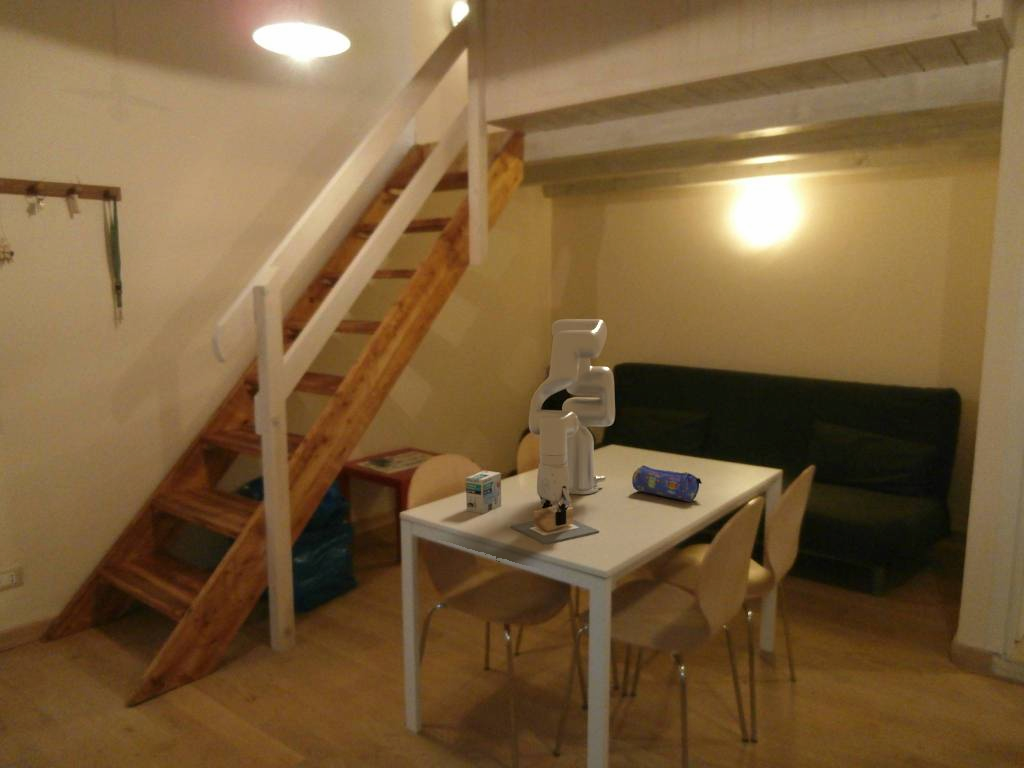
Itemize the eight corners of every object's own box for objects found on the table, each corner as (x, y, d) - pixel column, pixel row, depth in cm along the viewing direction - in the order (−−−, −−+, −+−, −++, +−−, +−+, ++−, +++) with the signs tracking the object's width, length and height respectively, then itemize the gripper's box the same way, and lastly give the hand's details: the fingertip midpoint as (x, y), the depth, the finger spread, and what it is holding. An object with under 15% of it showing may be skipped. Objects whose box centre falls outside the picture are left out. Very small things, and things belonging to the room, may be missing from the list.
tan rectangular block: (534, 526, 209) (534, 511, 208) (560, 519, 215) (560, 504, 215) (547, 531, 205) (547, 515, 204) (573, 523, 211) (573, 508, 211)
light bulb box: (483, 514, 226) (483, 479, 225) (465, 511, 230) (464, 477, 229) (502, 505, 235) (501, 472, 234) (484, 502, 239) (483, 469, 238)
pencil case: (702, 500, 237) (702, 470, 236) (688, 506, 231) (688, 476, 230) (644, 488, 253) (644, 460, 252) (629, 493, 247) (629, 465, 246)
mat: (562, 516, 222) (562, 514, 222) (599, 532, 207) (599, 530, 207) (510, 527, 213) (510, 525, 213) (545, 544, 198) (545, 542, 198)
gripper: (525, 455, 213) (526, 516, 215) (560, 467, 198) (560, 532, 201) (547, 452, 217) (548, 512, 219) (582, 463, 202) (583, 527, 205)
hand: (554, 521), depth 210 cm, fingers closed on tan rectangular block, 6 cm apart
